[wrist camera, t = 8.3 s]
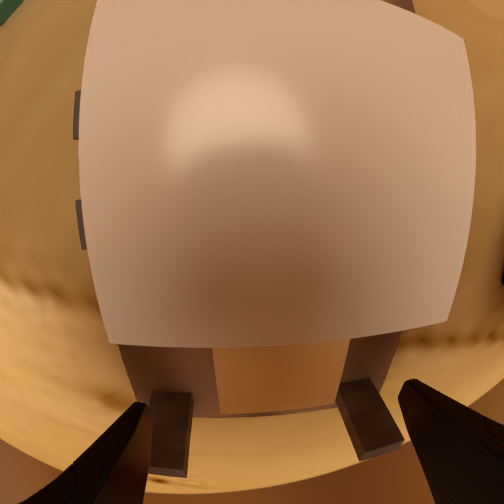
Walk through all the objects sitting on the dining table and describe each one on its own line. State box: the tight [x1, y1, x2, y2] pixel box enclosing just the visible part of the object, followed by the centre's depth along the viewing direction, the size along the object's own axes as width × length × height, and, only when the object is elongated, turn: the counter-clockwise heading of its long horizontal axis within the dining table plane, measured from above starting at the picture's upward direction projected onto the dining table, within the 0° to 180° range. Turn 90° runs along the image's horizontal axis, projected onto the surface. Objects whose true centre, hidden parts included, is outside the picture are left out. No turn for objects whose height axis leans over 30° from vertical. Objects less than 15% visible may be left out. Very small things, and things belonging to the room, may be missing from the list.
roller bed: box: [73, 0, 415, 478], centre depth 9 cm, size 16×27×6 cm, turn 0°
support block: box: [212, 339, 350, 414], centre depth 11 cm, size 5×5×4 cm
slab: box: [79, 0, 476, 348], centre depth 6 cm, size 10×9×2 cm
